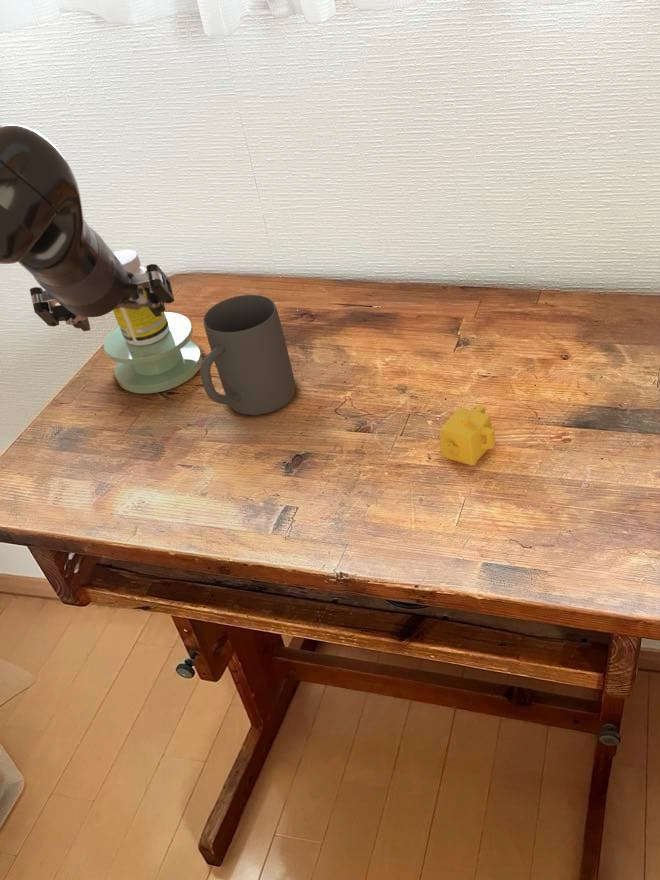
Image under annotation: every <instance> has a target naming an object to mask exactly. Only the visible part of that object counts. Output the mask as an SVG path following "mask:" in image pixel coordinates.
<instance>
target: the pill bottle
mask: <svg viewBox="0 0 660 880" xmlns="http://www.w3.org/2000/svg"><path fill="white" fill-rule="evenodd" d="M112 252H113V251H112ZM113 253H114V255H115V256H116V257H117V259H118V260H119V261H120V263H121V264H122V266H123V267H124V269H125V271H128V272H131V273H133V274H134V275H140V274H144V273H145V271H147V269H146V267H144V266H141V260H140V258H139V255H138V253H137V251H135V250H131V249H122V250H121V249H120V250H116V251H114V252H113ZM143 294H144V297H145V298H146V299H147V297H146V293H145V291H143ZM129 300H132V297H131V298H130V299H129ZM112 312H113V314H114V317H115V319H116V323H117V325H118V326H119V327H120V330H121V332H122V334H123V337H124V339H125V340H126V342H127V343H129V344H131V345H136V346H144V345H149V344H152V343H155V342H157V341H159V340H161V339H162V338H163V337H164V336H166V334H167V333H168V331H169V324H168V321H167V318H166V315H165V313H164V312H165V311H163V312H161V314H162V316H158V317H155V315H154V314H153V313H152V312H151V310H150V309H149V308H148V307H142V308H140V309H138V310H134V309H127V308H119V309H113V310H112Z"/></svg>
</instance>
